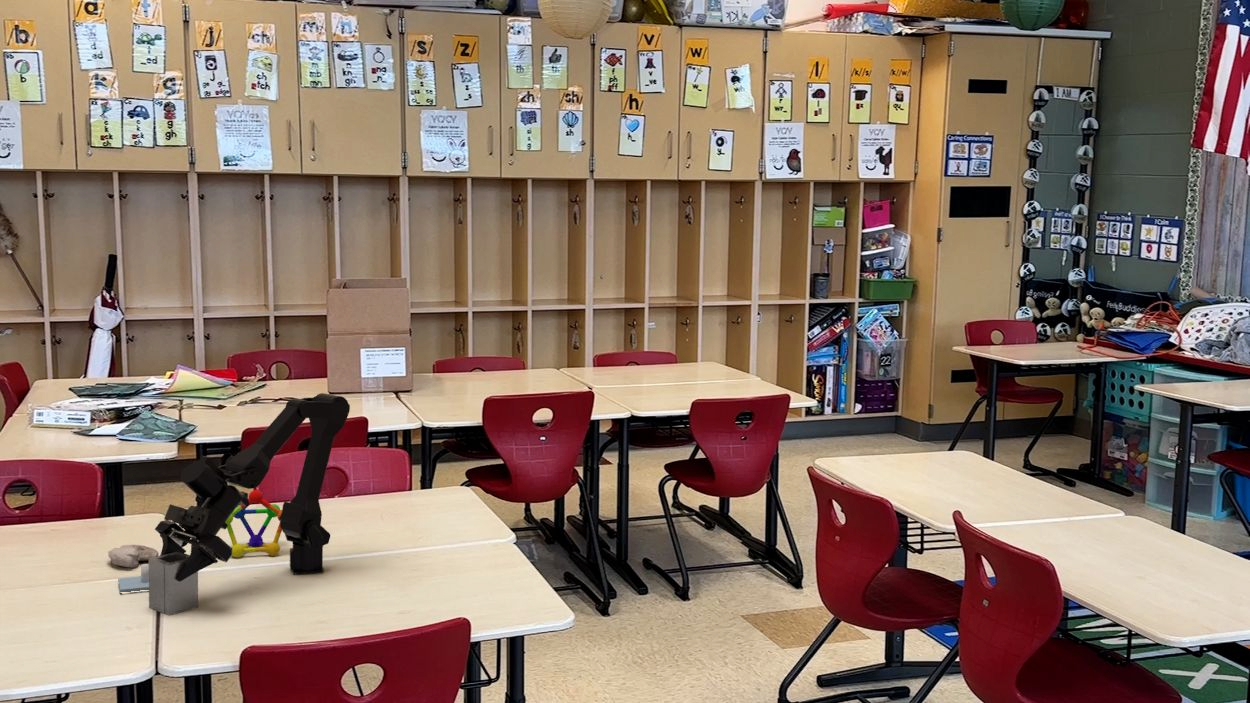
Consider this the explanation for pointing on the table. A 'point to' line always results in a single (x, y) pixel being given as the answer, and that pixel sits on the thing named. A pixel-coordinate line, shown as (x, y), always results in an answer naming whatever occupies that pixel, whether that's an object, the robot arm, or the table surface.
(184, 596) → the open metal box
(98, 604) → the table surface
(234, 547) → the educational toy
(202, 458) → the robot arm
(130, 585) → the shaft stand
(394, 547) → the table surface
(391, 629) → the table surface
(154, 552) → the fossil
